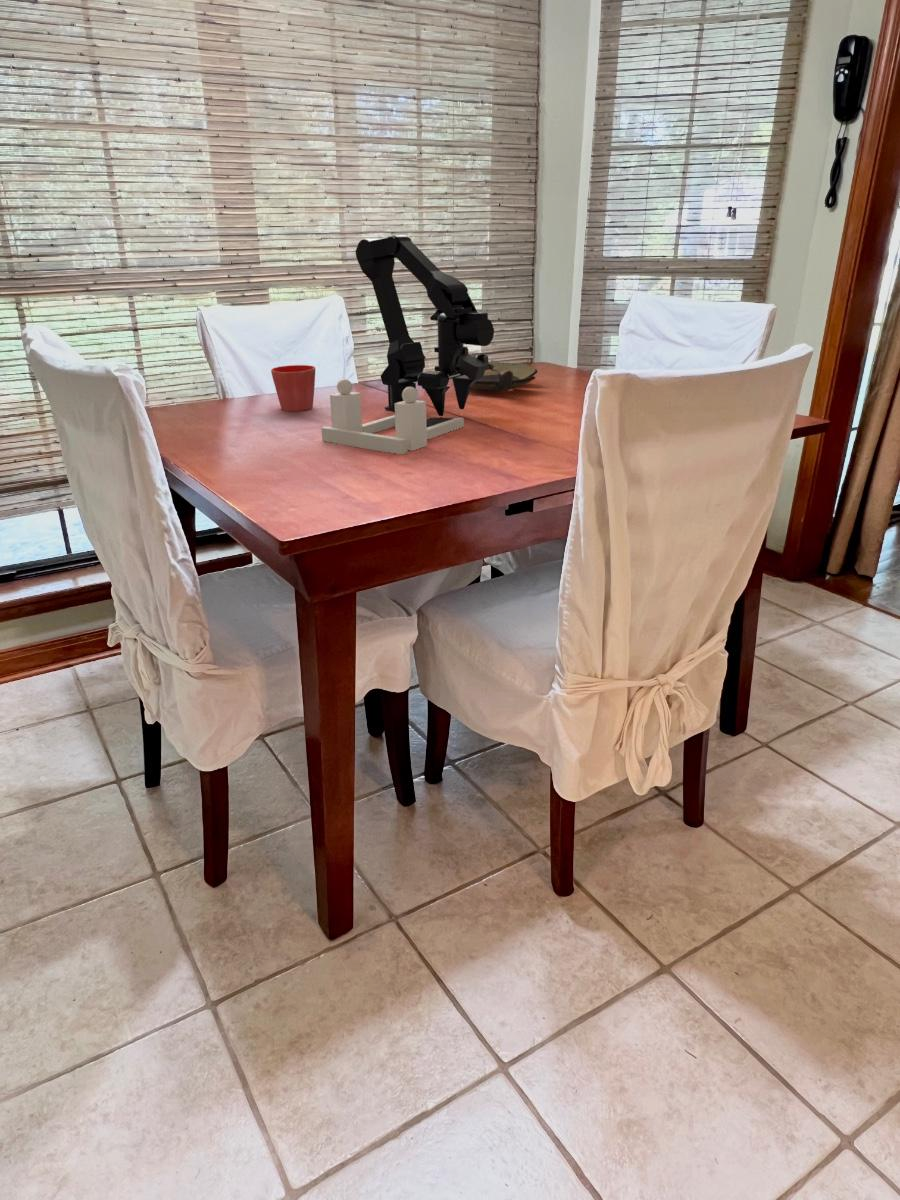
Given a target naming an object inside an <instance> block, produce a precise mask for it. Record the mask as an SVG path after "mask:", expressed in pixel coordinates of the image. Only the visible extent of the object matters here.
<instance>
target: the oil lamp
mask: <svg viewBox="0 0 900 1200" xmlns="http://www.w3.org/2000/svg"><path fill="white" fill-rule="evenodd" d="M488 366H489V369H488V370H485V373H484V376H483V378H479V380H477V381H476V382H475V383H474V384H473V385H472V386H471V387H473V388H475V389H479V390H481V391H482V390H483V391H487V392H507V391H510V390H515V389H517V388H520V387H523V386H524V385H527V384H528V383H530V382H532V381H534V380H535V379H537V376H535V375H536V374H537V373H538V369H537V368H535V367H533V366H531V365H529V364H524V363H514V362H513V363H511V362H499V361H496V362H495V361H492V362H489V364H488Z"/></svg>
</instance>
